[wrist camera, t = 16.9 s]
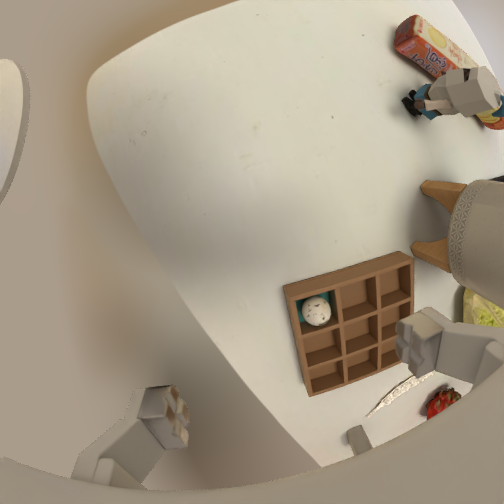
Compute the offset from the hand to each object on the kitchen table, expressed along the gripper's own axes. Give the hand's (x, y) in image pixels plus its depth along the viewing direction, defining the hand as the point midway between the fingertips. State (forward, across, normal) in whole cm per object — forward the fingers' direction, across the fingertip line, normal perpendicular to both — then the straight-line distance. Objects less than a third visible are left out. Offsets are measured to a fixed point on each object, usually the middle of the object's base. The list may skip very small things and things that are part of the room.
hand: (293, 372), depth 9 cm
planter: (+21, -27, +4) cm, 35 cm away
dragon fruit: (+21, -32, +44) cm, 58 cm away
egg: (+21, -6, +9) cm, 24 cm away
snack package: (+21, -34, -17) cm, 44 cm away
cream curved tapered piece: (+22, -20, +33) cm, 45 cm away
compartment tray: (+22, -11, +14) cm, 28 cm away
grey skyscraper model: (+22, -12, +42) cm, 49 cm away
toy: (+21, -26, -12) cm, 36 cm away
